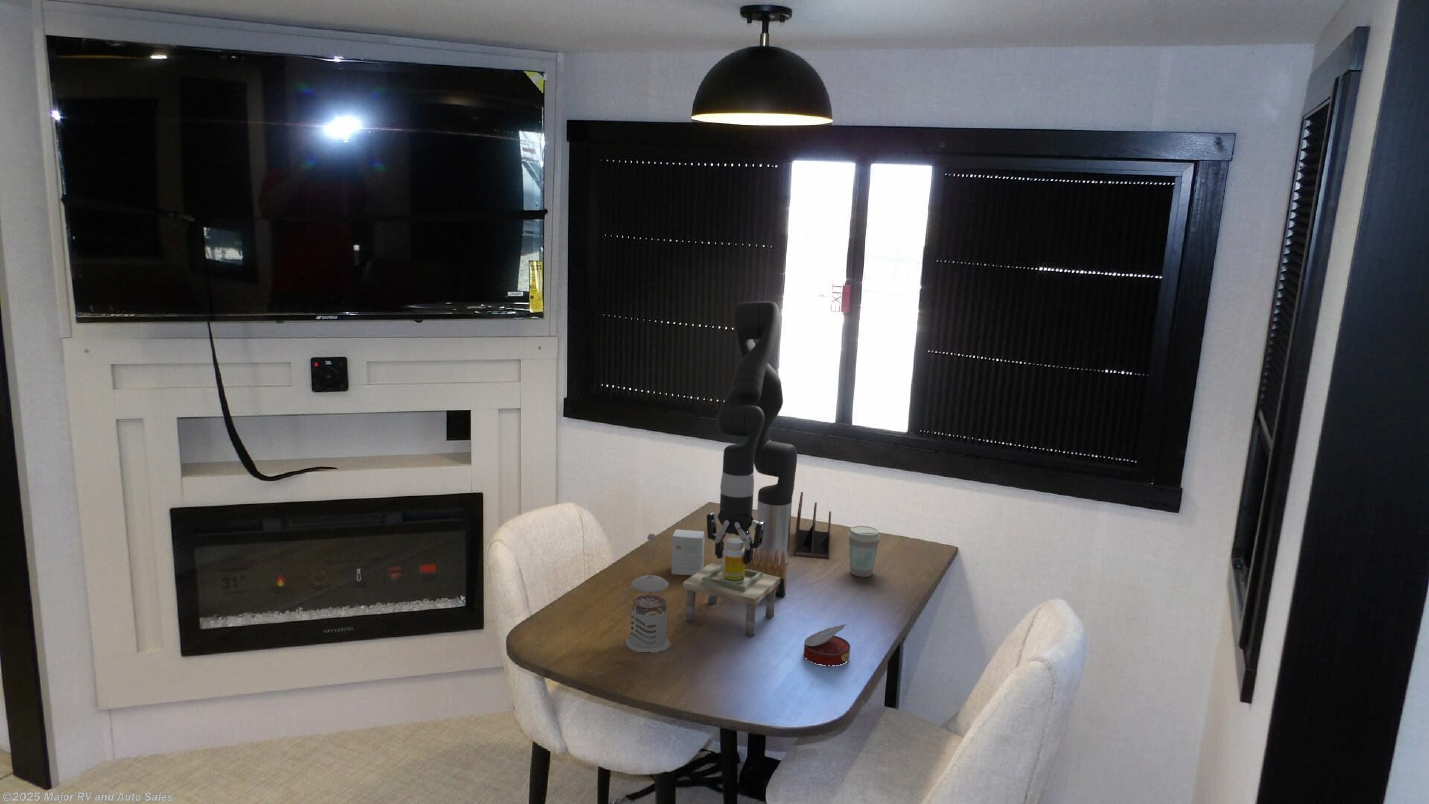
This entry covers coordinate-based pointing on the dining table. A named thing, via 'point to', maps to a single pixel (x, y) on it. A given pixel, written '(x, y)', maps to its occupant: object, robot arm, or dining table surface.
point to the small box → (687, 552)
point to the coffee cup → (863, 549)
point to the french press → (651, 635)
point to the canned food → (827, 647)
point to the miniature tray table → (732, 592)
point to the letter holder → (811, 538)
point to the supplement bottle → (733, 561)
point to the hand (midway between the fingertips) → (733, 560)
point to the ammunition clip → (769, 570)
